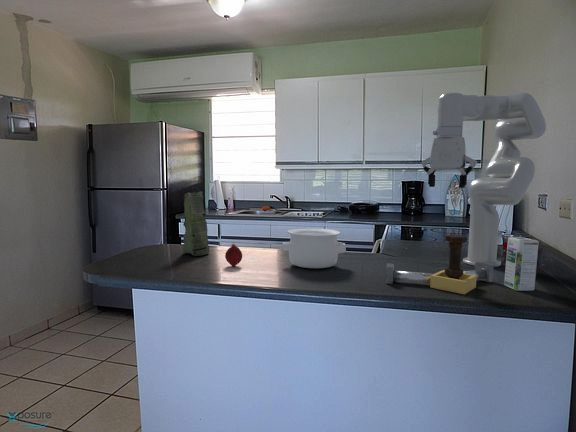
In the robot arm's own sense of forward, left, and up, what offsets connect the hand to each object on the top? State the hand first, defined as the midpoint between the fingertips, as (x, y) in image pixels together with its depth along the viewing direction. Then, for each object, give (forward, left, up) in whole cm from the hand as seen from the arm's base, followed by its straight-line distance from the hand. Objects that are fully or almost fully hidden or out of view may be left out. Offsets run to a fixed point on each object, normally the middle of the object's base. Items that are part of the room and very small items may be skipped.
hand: (446, 187), depth 128 cm
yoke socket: (+15, +9, -28) cm, 33 cm away
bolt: (+15, +9, -28) cm, 33 cm away
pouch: (+40, -82, -28) cm, 96 cm away
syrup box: (+2, +23, -28) cm, 37 cm away
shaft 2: (+6, +11, -28) cm, 31 cm away
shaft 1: (+20, -1, -28) cm, 35 cm away
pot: (+23, -36, -29) cm, 51 cm away
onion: (+43, -55, -28) cm, 75 cm away
